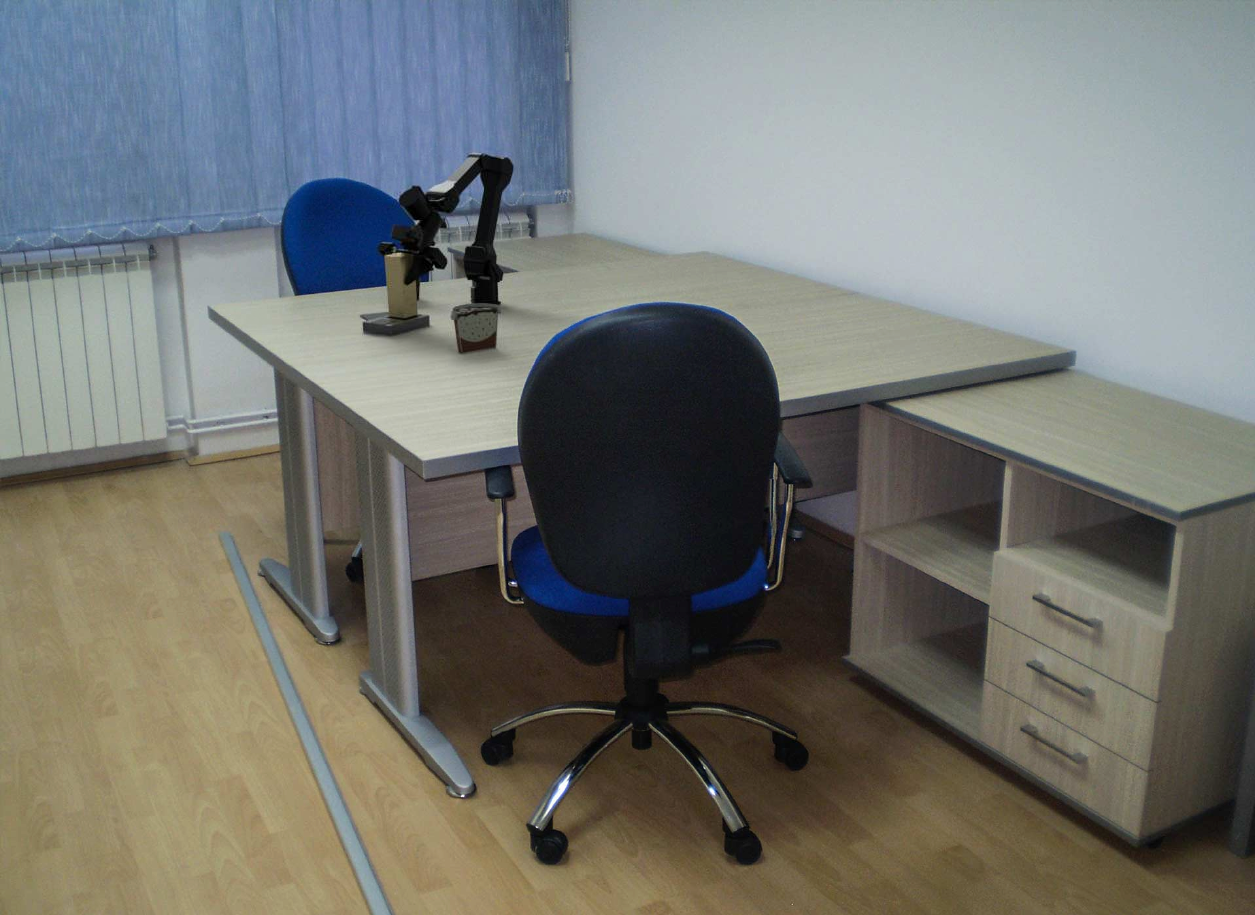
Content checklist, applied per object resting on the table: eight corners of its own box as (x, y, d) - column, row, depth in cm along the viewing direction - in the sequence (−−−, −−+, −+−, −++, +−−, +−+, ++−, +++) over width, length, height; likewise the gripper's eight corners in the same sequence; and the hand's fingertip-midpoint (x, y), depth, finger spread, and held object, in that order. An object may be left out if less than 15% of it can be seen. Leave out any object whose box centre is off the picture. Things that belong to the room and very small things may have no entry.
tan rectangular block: (402, 312, 319) (398, 252, 314) (417, 314, 316) (413, 254, 311) (389, 316, 315) (384, 255, 310) (404, 318, 312) (400, 257, 307)
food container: (487, 342, 300) (485, 300, 297) (501, 347, 296) (500, 304, 292) (442, 350, 293) (440, 307, 290) (456, 355, 288) (454, 311, 285)
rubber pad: (397, 312, 332) (396, 310, 332) (409, 319, 324) (409, 318, 324) (359, 316, 328) (359, 314, 328) (371, 323, 319) (371, 322, 319)
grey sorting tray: (402, 321, 322) (401, 311, 321) (429, 325, 318) (429, 314, 317) (363, 331, 311) (362, 321, 310) (391, 336, 306) (390, 325, 305)
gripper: (379, 209, 315) (351, 260, 310) (437, 214, 306) (410, 267, 301) (402, 236, 324) (375, 287, 319) (459, 242, 315) (433, 294, 310)
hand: (397, 283), depth 312 cm, fingers closed on tan rectangular block, 5 cm apart
